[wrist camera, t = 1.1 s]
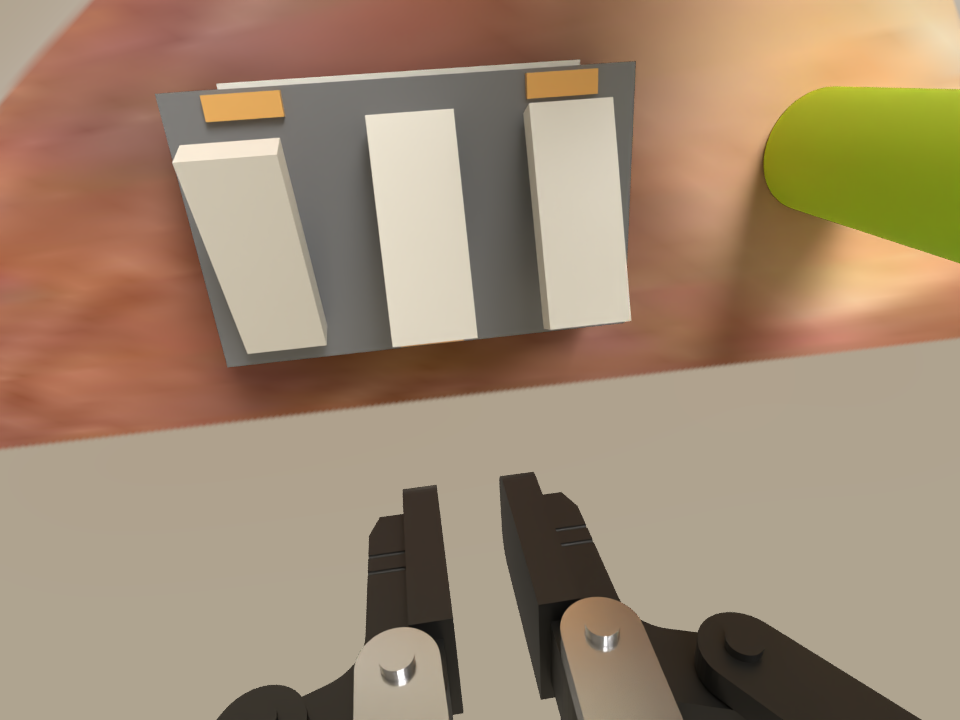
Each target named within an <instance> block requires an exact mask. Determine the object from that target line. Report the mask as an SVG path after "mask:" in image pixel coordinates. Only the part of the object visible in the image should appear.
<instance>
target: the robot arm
mask: <svg viewBox="0 0 960 720" xmlns="http://www.w3.org/2000/svg"><path fill="white" fill-rule="evenodd" d="M499 481H500V501H501V518H502V534H503V543H504V550H505V556H506V561H507V565H508V569H509V573H510V577H511V581H512V585H513V589H514V593H515V597H516V601H517V605H518V609H519V613H520V617H521V621H522V625H523V629H524V633H525V637H526V641H527V645H528V649H529V653H530V658H531V662H532V666H533V670H534V674H535V678H536V682H537V686H538V690H539V693H540V698H541V699H547V698H553V697H555V698H556V701H557V705H558V709H559V712H560V716H561V720H921V719H919V718H918V717H916V716H915V715H913V714H911V713H910V712H908V711H906V710H905V709H903V708H901V707H900V706H898V705H897V704H895V703H894V702H892V701H890V700H889V699H887V698H886V697H884V696H882V695H881V694H879V693H877V692H876V691H874V690H873V689H871V688H869V687H868V686H866V685H865V684H863V683H861V682H860V681H858V680H857V679H855V678H853V677H852V676H850V675H848V674H847V673H845V672H844V671H842V670H840V669H839V668H837V667H835V666H834V665H832V664H831V663H829V662H827V661H826V660H824V659H823V658H821V657H819V656H818V655H816V654H814V653H813V652H811V651H810V650H808V649H807V648H805V647H803V646H802V645H800V644H798V643H797V642H795V641H794V640H792V639H790V638H789V637H787V636H786V635H784V634H782V633H781V632H779V631H778V630H776V629H774V628H773V627H771V626H769V625H768V624H766V623H764V622H763V621H761V620H759V619H757V618H754V617H752V616H749V615H745V614H741V613H735V612H733V613H732V612H726V613H719V614H715V615H713V616H711V617H709V618H707V619H706V620H705V621H704V622H703V623H702V624H701V626H700V628H699V630H698V632H689V631H682V630H673V629H666V628H661V627H657V626H654V625H651V624H649V623H646V622H644V621H642V620H640V618H639V617H638V616H637V614H636V613H635V612H634V611H633V610H632V609H631V608H629V607H628V606H626V605H625V604H623V603H621V601H620V599H619V598H618V596H617V593H616V591H615V589H614V587H613V584H612V582H611V580H610V578H609V575H608V573H607V571H606V569H605V567H604V564H603V562H602V560H601V558H600V556H599V553H598V551H597V548H596V546H595V544H594V543H593V541H592V537H591V535H590V533H589V531H588V528H586V524H585V522H584V519H583V517H582V515H581V513H580V511H579V508H578V506H577V505H576V504H574V503H573V502H572V501H571V500H570V499H569V498H567V497H566V496H565V495H564V494H563V493H561V492H559V493H553V494H545V495H543V494H542V492H541V490H540V486H539V484H538V481H537V478H536V476H535V474H534V472H529V473H521V474H514V475H507V476H500V480H499ZM403 512H404V514H400V515H393V516H386V517H380V518H379V520H378V522H377V523H376V525H375V527H374V529H373V530H372V532H371V534H370V536H369V559H368V584H367V612H366V614H367V615H366V637H365V644H364V647H363V648H362V650H361V651H360V653H359V655H358V657H357V659H356V662H355V664H354V665H353V666H352V667H351V668H350V669H349V670H348V671H347V672H346V673H345V674H344V675H343V676H341V677H340V678H338V679H337V680H335V681H334V682H332V683H330V684H328V685H326V686H324V687H322V688H320V689H318V690H315V691H314V692H311V693H309V694H307V695H305V696H303V697H301V696H300V694H299V693H297V692H296V691H295V690H293V689H291V688H289V687H286V686H282V685H268V686H263V687H259V688H256V689H253V690H251V691H249V692H247V693H245V694H244V695H242V696H240V697H239V698H237V699H236V700H235V701H234V702H233V703H231V704H230V705H229V706H228V707H227V708H226V709H225V710H224V711H223V713H222V714H221V715H220V716H219V717H218V719H217V720H453V715H454V714H460V713H463V704H462V695H461V686H460V677H459V668H458V659H457V650H456V641H455V632H454V623H453V615H452V607H451V599H450V591H449V582H448V575H447V567H446V559H445V551H444V542H443V535H442V526H441V518H440V510H439V502H438V494H437V486H436V485H433V486H425V487H417V488H411V489H403Z"/></svg>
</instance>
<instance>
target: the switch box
mask: <svg viewBox="0 0 960 720" xmlns="http://www.w3.org/2000/svg"><path fill="white" fill-rule="evenodd" d="M635 68H636V61H632V62H615V63H599V64H584V65H580V59H579V60H564V61H549V62H534V63H519V64H504V65H489V66H475V67H460V68H445V69H430V70H415V71H400V72H385V73H370V74H355V75H340V76H325V77H311V78H296V79H281V80H266V81H251V82H236V83H221V84H217V89H216V90H201V91H187V92H174V93H161V94H155V96H156V100H157V103H158V107H159V111H160V115H161V118H162V122H163V126H164V130H165V133H166V137H167V141H168V145H169V149H170V152H171V156H172V160H174V157H175V155H176V153H177V150H178V148H179V146H180V145H190V144H203V143H216V142H229V141H242V140H256V139H269V138H280V140H281V144H282V148H283V152H284V156H285V160H286V164H287V168H288V172H289V176H290V180H291V184H292V188H293V192H294V196H295V200H296V204H297V208H298V212H299V216H300V220H301V224H302V228H303V232H304V236H305V240H306V244H307V248H308V251H309V255H310V259H311V263H312V267H313V271H314V275H315V279H316V283H317V287H318V291H319V295H320V299H321V303H322V307H323V311H324V315H325V319H326V323H327V345H325V346H315V347H306V348H297V349H288V350H279V351H270V352H261V353H252V354H247V351H246V349H245V346H244V344H243V341H242V339H241V336H240V333H239V331H238V328H237V326H236V323H235V321H234V318H233V316H232V313H231V311H230V308H229V306H228V303H227V301H226V298H225V295H224V293H223V290H222V288H221V285H220V283H219V280H218V278H217V275H216V273H215V270H214V268H213V265H212V262H211V260H210V257H209V255H208V252H207V250H206V247H205V245H204V242H203V240H202V237H201V235H200V232H199V229H198V227H197V224H196V222H195V219H194V217H193V214H192V212H191V209H190V207H189V204H188V202H187V199H186V197H185V194H184V191H183V189H182V186H181V184H180V181H179V179H178V176H177V179H178V182H179V186H180V190H181V194H182V197H183V201H184V205H185V209H186V212H187V216H188V220H189V224H190V228H191V231H192V235H193V239H194V243H195V246H196V250H197V254H198V258H199V261H200V265H201V269H202V273H203V276H204V280H205V284H206V288H207V291H208V295H209V299H210V303H211V306H212V310H213V314H214V318H215V322H216V325H217V329H218V333H219V337H220V340H221V344H222V348H223V352H224V355H225V359H226V363H227V367H235V366H244V365H253V364H262V363H271V362H280V361H289V360H298V359H307V358H316V357H325V356H334V355H343V354H351V353H360V352H369V351H378V350H387V349H396V348H405V347H414V346H423V345H432V344H441V343H450V342H459V341H467V340H476V339H485V338H494V337H503V336H512V335H521V334H530V333H539V332H548V331H557V330H566V329H575V328H584V327H592V326H601V325H610V324H619V323H624V322H616V323H607V324H598V325H589V326H580V327H571V328H563V329H554V330H548V329H544V326H543V316H542V305H541V295H540V284H539V274H538V263H537V253H536V242H535V232H534V221H533V211H532V200H531V190H530V179H529V169H528V158H527V148H526V137H525V127H524V116H523V113H524V111H525V109H526V108H527V106H528V104H529V103H538V102H551V101H565V100H579V99H592V98H606V97H613V103H614V115H615V127H616V140H617V152H618V164H619V177H620V189H621V201H622V213H623V226H624V238H625V250H626V263H627V251H628V228H629V205H630V182H631V160H632V137H633V114H634V91H635ZM441 109H454V118H455V128H456V137H457V146H458V156H459V165H460V175H461V184H462V194H463V203H464V213H465V222H466V232H467V241H468V250H469V260H470V269H471V279H472V288H473V298H474V307H475V317H476V326H477V336H478V338H472V339H463V340H454V341H446V342H437V343H428V344H419V345H410V346H401V347H393V346H392V338H391V329H390V321H389V313H388V304H387V296H386V287H385V279H384V271H383V262H382V254H381V246H380V237H379V229H378V220H377V212H376V204H375V195H374V187H373V178H372V170H371V162H370V153H369V145H368V137H367V128H366V120H365V115H374V114H387V113H401V112H414V111H428V110H441ZM176 175H177V174H176Z"/></svg>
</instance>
